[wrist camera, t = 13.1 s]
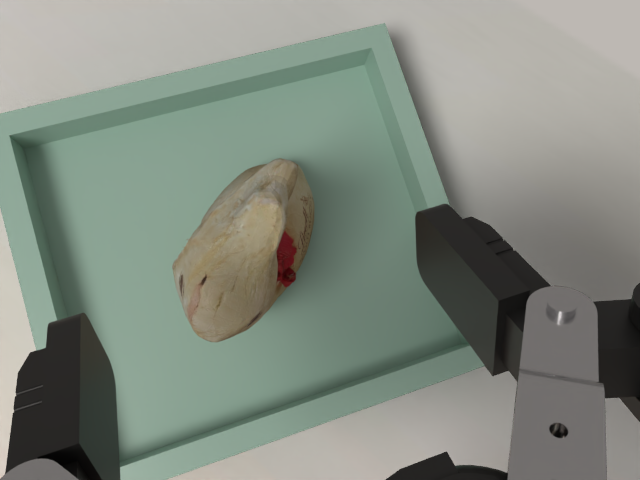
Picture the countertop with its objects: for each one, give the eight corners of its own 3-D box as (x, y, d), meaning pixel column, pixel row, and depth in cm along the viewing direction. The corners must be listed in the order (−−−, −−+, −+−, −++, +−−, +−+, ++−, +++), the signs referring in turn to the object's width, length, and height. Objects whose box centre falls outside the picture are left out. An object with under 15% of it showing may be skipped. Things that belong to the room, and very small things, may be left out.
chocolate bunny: (140, 254, 26) (79, 198, 16) (281, 151, 27) (304, 43, 18) (219, 354, 26) (205, 359, 16) (357, 243, 27) (422, 186, 17)
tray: (373, 49, 30) (384, 23, 27) (481, 357, 28) (504, 358, 25) (2, 139, 27) (-23, 118, 24) (93, 494, 25) (77, 510, 22)
